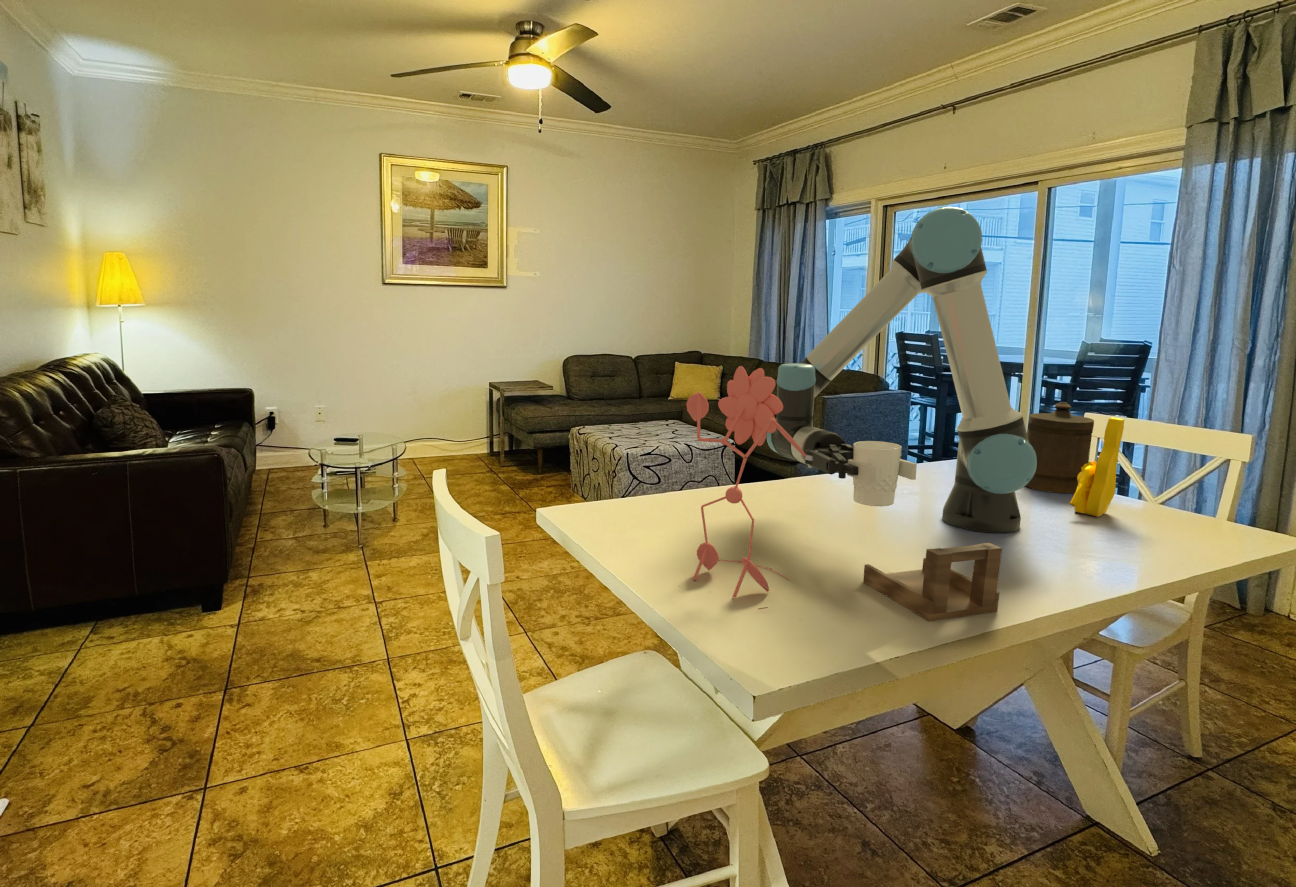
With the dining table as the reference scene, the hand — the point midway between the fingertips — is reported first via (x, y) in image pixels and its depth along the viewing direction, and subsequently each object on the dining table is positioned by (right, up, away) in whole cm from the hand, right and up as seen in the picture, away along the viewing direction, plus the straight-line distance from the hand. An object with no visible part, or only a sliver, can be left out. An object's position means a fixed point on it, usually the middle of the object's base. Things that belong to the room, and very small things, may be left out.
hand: (893, 473), depth 124 cm
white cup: (-2, -5, +6) cm, 8 cm away
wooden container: (+64, -6, +69) cm, 94 cm away
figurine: (-25, -18, -1) cm, 31 cm away
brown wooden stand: (+3, -19, -6) cm, 20 cm away
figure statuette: (+59, -11, +44) cm, 74 cm away
